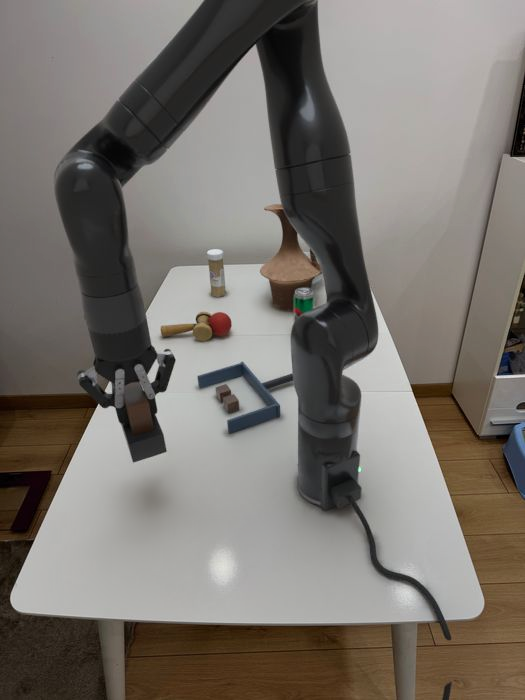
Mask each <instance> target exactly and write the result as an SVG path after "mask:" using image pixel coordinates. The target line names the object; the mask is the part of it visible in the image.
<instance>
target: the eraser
mask: <svg viewBox="0 0 525 700" xmlns="http://www.w3.org/2000/svg"><path fill="white" fill-rule="evenodd" d="M124 403H125V406H126V410H127V415H128V419H129V423H130V425H129V426H125V424H124V423H123V424H121V423H120V426H121V429H122V432H123V436H124V439H125V442H126V445H127V449H128V451H129V455H130V458H131V461H132V464H134V463H137V462H141V461H144V460H146V459H149V458H153V457H156V456H159V455H162V454H165V453H167V452H168V450H167V444H166V440H165V435H164V432H163V429H162V427H161V424H160V422H159V420H158V418H157V414H154V418H152V417H151V412H150V407H149V403H148V400H147V398H146V395H145V393H144V389H143V387H142V385H141V383H140V382H134V383H130V384H128V385H126V386H124Z"/></svg>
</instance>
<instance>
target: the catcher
mask: <svg viewBox="0 0 525 700" xmlns="http://www.w3.org/2000/svg"><path fill="white" fill-rule="evenodd" d="M241 376H243V377H244V379H245V380H246V381H247V382H248V384H249V385H250V386H251V387H252V389H254V391H255V392H256V393H257V394H258V396H259V397H260V398H261V399H262V401H263V402H264V404H266V405H267V406H264V407H262V408H259V409H256V410H253V411H250V412H247V413H244V414H241V415H238V416H235V417H233V418H230V419H229V418H228V419H227V420H226V425H227V432H228V434H233V433H236V432H238V431H241V430H244V429H247V428H250V427H253V426H255V425H258V424H261V423H264V422H267V421H270V420H273V419H276V418H277V419H279V418H281V404H280V403H279V402H278V401H277V400H276V399H275V398H274V396H273V395H272V394H271V392H269V390H270V389H273V388H275V387H279V386H282V385H286V384H288V383H291V382H293V373H289V374H286V375H282V376H280V377H277V378H273V379H271V380H267V381H264V382H261V381H260V380H259V379H258V378H257V376H256V375H255V374H254V372H252V370H251V369H250V368H249V367H248V366H247V364H245V361H240V362H239V363H236V364H232V365H230V366H225V367H221V368H219V369H216V370H213V371H212V370H211V371H209V372H205V373H202V374H199V375H197V384H198V388H199V389H202V388H206V387H208V386H212V385H215V384H219V383H221V382H224V381H228V380H231V379H234V378H238V377H241Z"/></svg>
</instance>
